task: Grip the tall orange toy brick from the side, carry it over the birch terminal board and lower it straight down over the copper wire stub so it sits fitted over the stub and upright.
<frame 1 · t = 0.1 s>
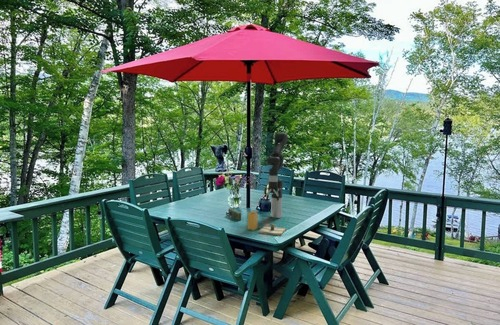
hand: (272, 200, 276), 17 cm above the table, tool pointing down, fingers open, 8 cm apart
handheld radio: (232, 217, 288), on the table
terminal board: (272, 231, 248), on the table
tall orange toy brick: (252, 228, 255), on the table
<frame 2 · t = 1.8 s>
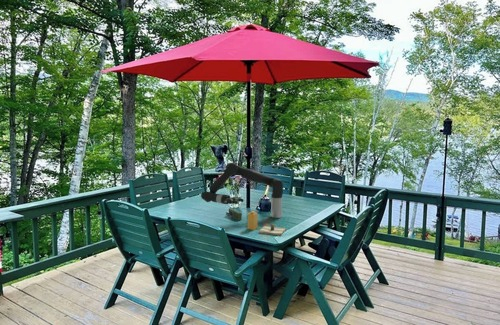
hand: (240, 201, 259), 20 cm above the table, tool horizontal, fingers open, 8 cm apart
nothing on the table moved.
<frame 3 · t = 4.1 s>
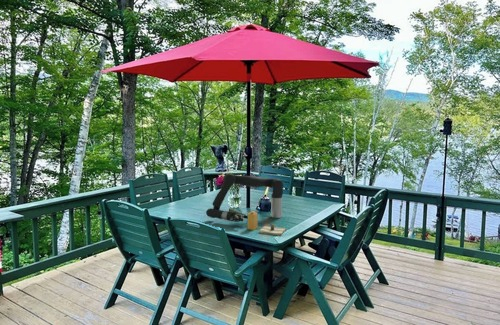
hand: (246, 218, 258), 7 cm above the table, tool horizontal, fingers open, 8 cm apart
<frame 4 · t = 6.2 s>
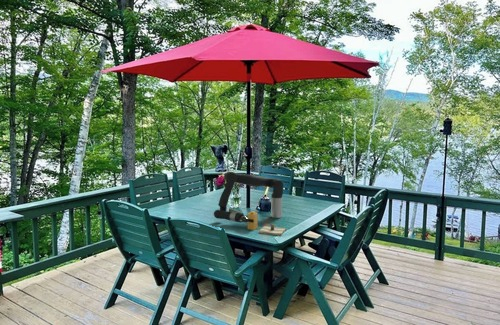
hand: (255, 220, 253), 7 cm above the table, tool horizontal, fingers closed on tall orange toy brick, 5 cm apart
tall orange toy brick: (252, 228, 255), on the table, touching gripper
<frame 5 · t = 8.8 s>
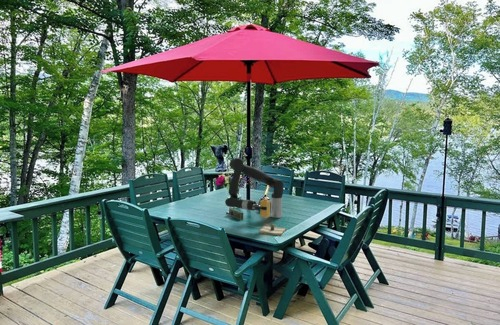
hand: (268, 207, 247), 18 cm above the table, tool horizontal, fingers closed on tall orange toy brick, 5 cm apart
tall orange toy brick: (265, 216, 249), point 11 cm above the table, touching gripper
when the fingers open (9 cm above the table, at t = 11.8 s): tall orange toy brick stays where it is, resting on terminal board.
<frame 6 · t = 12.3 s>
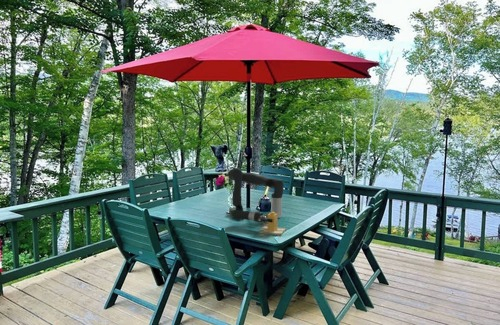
hand: (274, 219, 246), 10 cm above the table, tool horizontal, fingers open, 8 cm apart
tall orange toy brick: (272, 229, 248), point 1 cm above the table, touching terminal board
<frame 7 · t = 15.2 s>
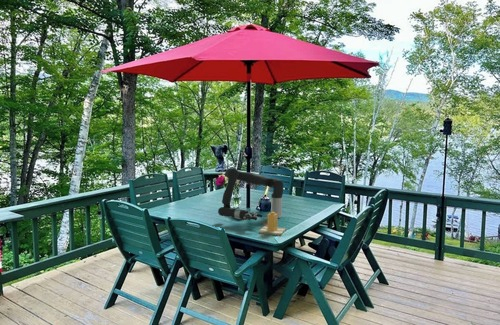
hand: (259, 217, 252), 10 cm above the table, tool horizontal, fingers open, 8 cm apart
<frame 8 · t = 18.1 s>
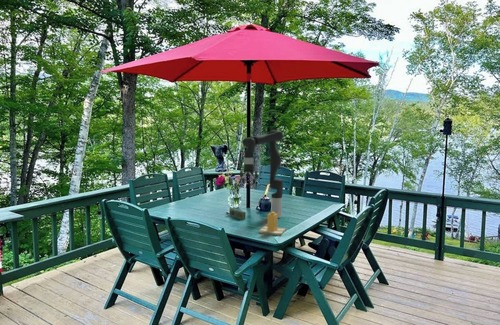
hand: (248, 183, 264), 33 cm above the table, tool pointing down, fingers open, 8 cm apart
at the end: tall orange toy brick 0.0 cm off-centre on the terminal board, point 1.5 cm above the terminal board's base; tall orange toy brick tilted 0°; the gripper is holding nothing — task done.
